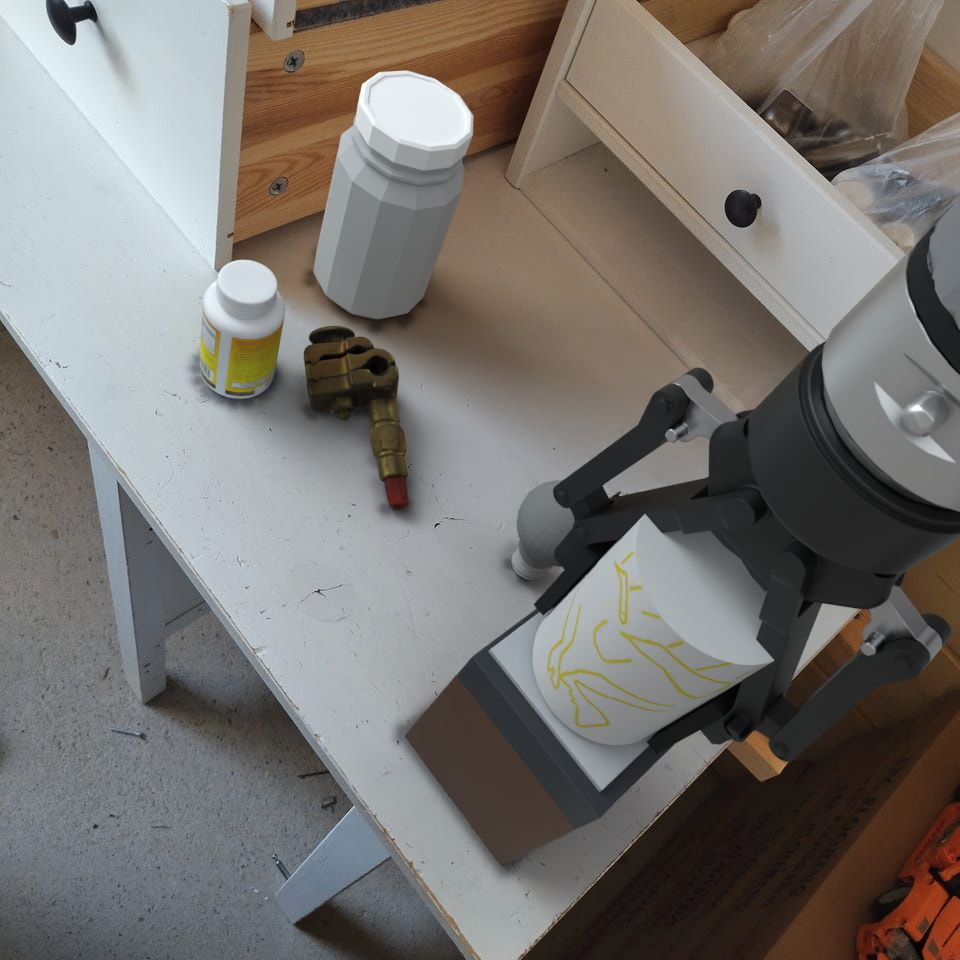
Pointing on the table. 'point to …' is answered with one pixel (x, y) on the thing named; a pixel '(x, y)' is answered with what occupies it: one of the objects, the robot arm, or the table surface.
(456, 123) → the jar
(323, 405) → the valve
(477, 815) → the brown and grey box
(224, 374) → the supplement bottle
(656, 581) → the cup
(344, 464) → the table surface
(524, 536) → the light bulb
